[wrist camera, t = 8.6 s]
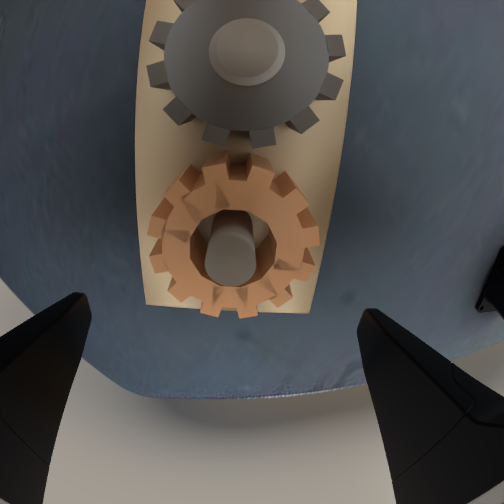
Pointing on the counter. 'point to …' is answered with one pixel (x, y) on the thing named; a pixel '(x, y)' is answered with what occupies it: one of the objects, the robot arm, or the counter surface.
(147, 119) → the gear board
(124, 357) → the counter surface
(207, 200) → the terracotta gear
